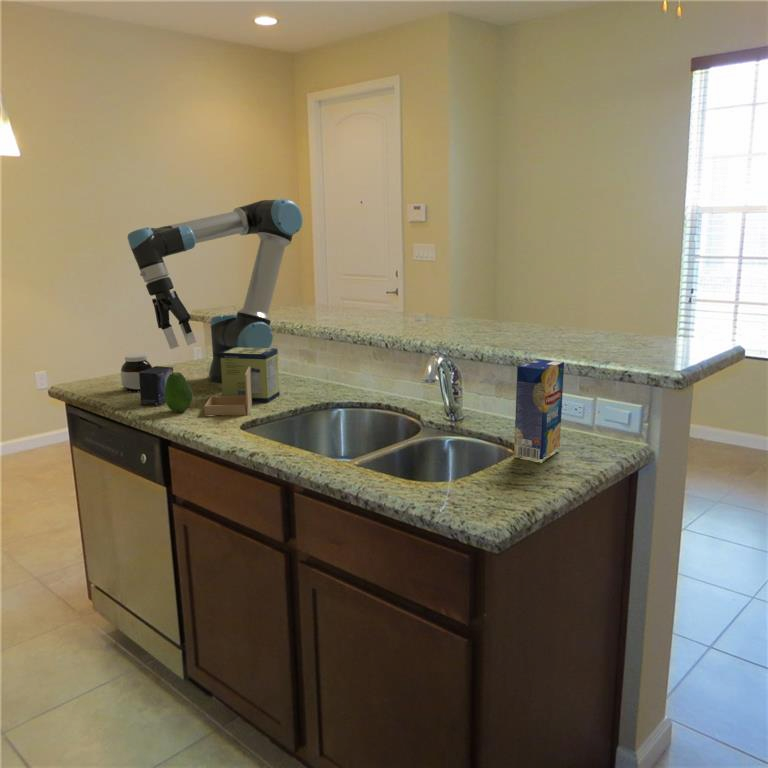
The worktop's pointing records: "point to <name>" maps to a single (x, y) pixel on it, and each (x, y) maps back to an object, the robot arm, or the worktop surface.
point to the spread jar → (133, 371)
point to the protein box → (261, 369)
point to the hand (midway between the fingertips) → (183, 345)
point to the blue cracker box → (538, 408)
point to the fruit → (177, 393)
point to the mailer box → (231, 402)
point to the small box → (154, 384)
